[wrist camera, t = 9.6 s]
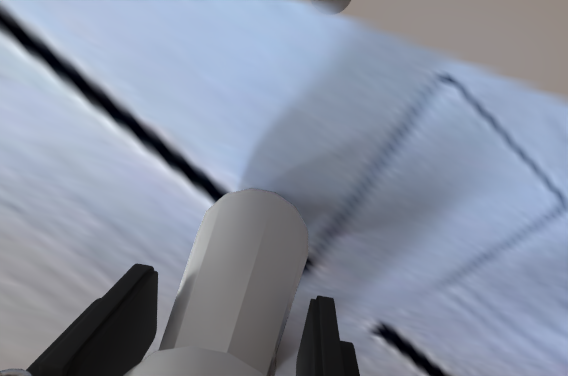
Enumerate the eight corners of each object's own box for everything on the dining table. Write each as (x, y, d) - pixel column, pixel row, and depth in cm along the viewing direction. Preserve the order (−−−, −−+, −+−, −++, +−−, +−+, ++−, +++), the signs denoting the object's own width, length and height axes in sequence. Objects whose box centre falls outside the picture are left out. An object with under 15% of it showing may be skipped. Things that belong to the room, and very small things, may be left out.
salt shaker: (229, 271, 19) (88, 618, 6) (198, 189, 17) (-69, 446, 5) (318, 254, 18) (352, 610, 6) (295, 166, 16) (272, 402, 4)
